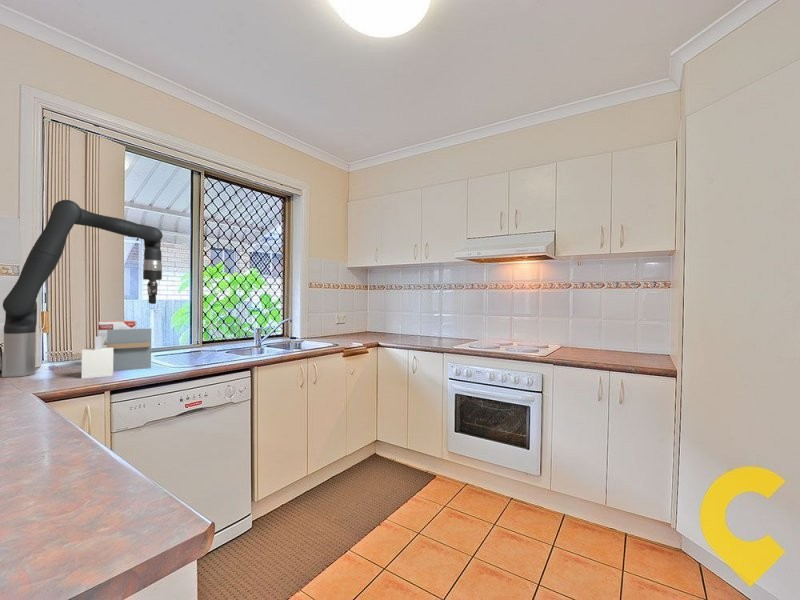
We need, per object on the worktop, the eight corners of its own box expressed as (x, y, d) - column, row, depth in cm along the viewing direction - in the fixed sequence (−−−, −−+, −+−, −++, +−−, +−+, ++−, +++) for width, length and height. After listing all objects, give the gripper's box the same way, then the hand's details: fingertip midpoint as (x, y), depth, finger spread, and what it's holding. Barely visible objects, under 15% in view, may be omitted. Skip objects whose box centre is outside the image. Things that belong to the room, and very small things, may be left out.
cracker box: (97, 367, 172) (97, 321, 172) (99, 365, 178) (100, 320, 177) (134, 365, 180) (135, 321, 179) (135, 363, 185) (136, 320, 185)
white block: (81, 378, 150) (82, 338, 150) (82, 375, 156) (82, 336, 156) (113, 375, 157) (113, 337, 156) (112, 372, 162) (113, 335, 162)
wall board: (106, 372, 162) (107, 330, 162) (106, 369, 168) (107, 329, 168) (151, 368, 172) (151, 329, 172) (149, 366, 178) (150, 327, 178)
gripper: (141, 269, 185) (141, 303, 185) (144, 268, 174) (144, 304, 174) (160, 270, 190) (159, 303, 190) (163, 269, 178) (163, 304, 178)
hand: (152, 303), depth 182 cm, fingers open, 8 cm apart
